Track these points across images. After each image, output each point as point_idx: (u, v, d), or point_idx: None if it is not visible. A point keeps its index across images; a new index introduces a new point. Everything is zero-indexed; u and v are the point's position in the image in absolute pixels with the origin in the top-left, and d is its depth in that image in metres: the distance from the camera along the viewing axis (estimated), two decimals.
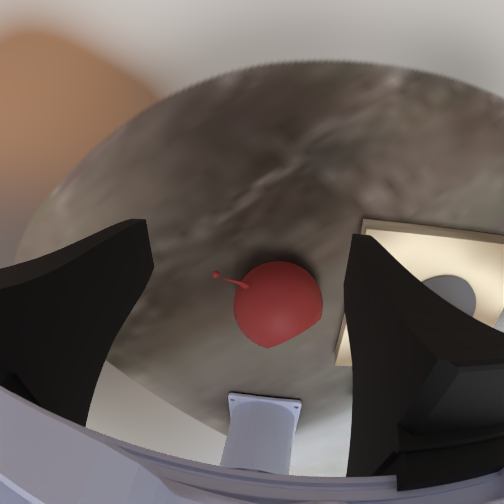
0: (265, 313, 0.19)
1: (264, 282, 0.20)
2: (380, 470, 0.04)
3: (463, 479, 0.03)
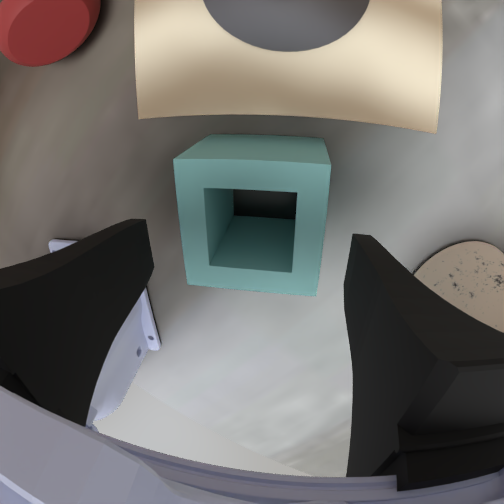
0: None
1: None
2: (380, 470, 0.04)
3: (463, 479, 0.03)
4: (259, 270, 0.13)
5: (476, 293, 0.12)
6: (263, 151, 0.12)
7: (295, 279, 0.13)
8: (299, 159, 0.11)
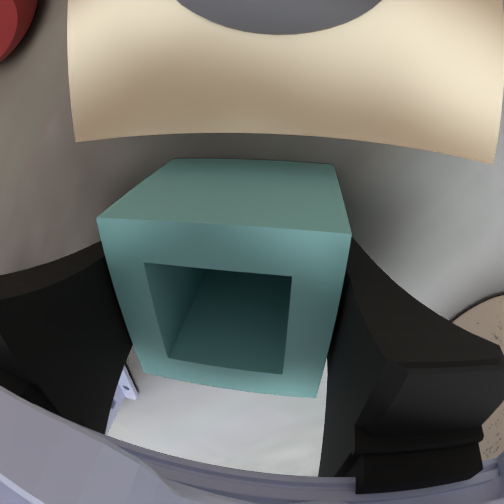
0: None
1: None
2: (343, 471, 0.05)
3: (428, 486, 0.03)
4: (236, 369, 0.09)
5: None
6: (239, 199, 0.07)
7: (287, 381, 0.09)
8: (296, 220, 0.06)
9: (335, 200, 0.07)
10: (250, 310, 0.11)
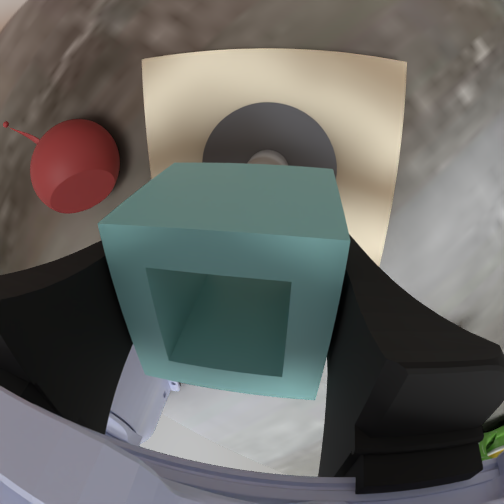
0: (37, 157, 0.15)
1: (47, 131, 0.15)
2: (343, 471, 0.05)
3: (428, 486, 0.03)
4: (236, 371, 0.09)
5: None
6: (239, 204, 0.08)
7: (287, 383, 0.09)
8: (296, 226, 0.07)
9: (334, 206, 0.08)
10: (250, 313, 0.11)
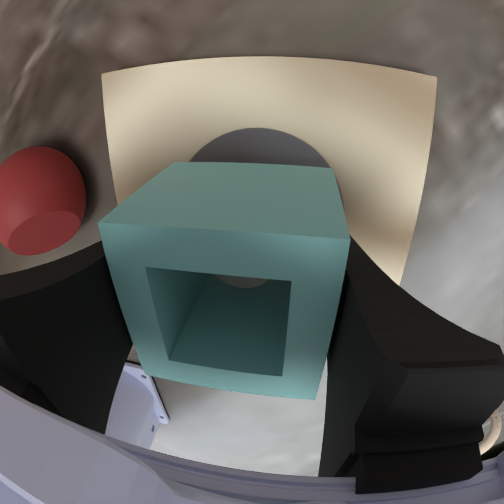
0: None
1: None
2: (343, 471, 0.05)
3: (428, 486, 0.03)
4: (236, 371, 0.09)
5: None
6: (239, 204, 0.08)
7: (287, 383, 0.09)
8: (296, 226, 0.07)
9: (334, 205, 0.08)
10: (250, 312, 0.11)
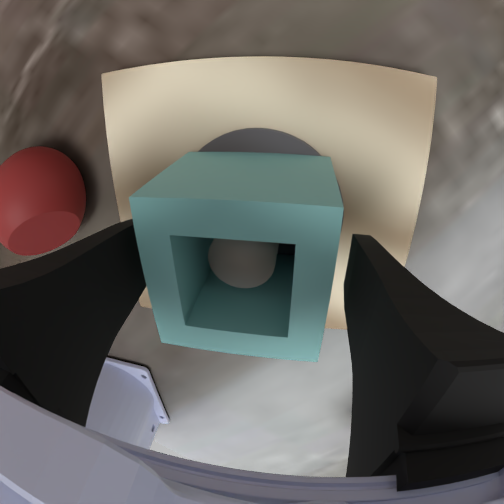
0: None
1: (2, 164, 0.12)
2: (380, 470, 0.04)
3: (463, 479, 0.03)
4: (246, 333, 0.10)
5: None
6: (250, 182, 0.09)
7: (292, 344, 0.10)
8: (299, 197, 0.08)
9: (331, 184, 0.09)
10: None
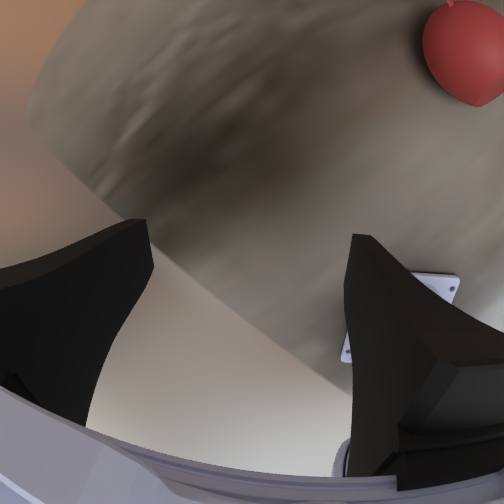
0: (490, 21, 0.08)
1: (470, 1, 0.09)
2: (380, 470, 0.04)
3: (463, 479, 0.03)
4: None
5: None
6: None
7: None
8: None
9: None
10: None
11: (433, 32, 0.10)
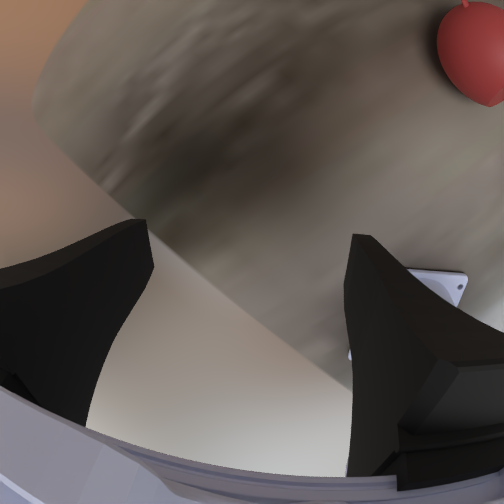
0: None
1: (484, 3, 0.08)
2: (380, 470, 0.04)
3: (463, 479, 0.03)
4: None
5: None
6: None
7: None
8: None
9: None
10: None
11: (448, 32, 0.10)
